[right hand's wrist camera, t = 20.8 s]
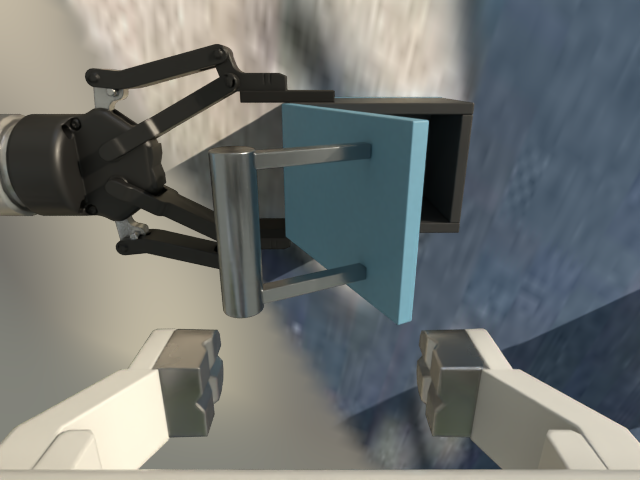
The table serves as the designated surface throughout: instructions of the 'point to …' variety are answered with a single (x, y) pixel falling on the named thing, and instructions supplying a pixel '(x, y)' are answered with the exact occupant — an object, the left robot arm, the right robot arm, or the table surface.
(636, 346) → the table surface
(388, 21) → the table surface
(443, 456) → the table surface
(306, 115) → the lid
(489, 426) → the right robot arm
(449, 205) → the chest
